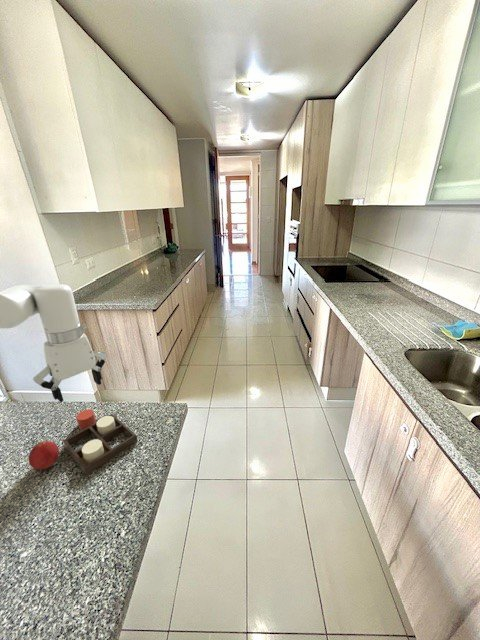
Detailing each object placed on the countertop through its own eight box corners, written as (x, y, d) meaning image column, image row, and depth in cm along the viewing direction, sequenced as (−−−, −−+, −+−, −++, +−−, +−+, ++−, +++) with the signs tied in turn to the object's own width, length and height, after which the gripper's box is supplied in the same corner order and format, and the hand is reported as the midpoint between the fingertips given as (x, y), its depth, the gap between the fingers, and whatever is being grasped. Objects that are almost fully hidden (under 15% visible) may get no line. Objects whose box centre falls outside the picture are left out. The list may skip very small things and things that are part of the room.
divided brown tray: (65, 449, 68) (62, 440, 67) (113, 422, 78) (112, 413, 77) (87, 478, 61) (84, 468, 60) (137, 443, 70) (136, 435, 69)
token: (96, 433, 73) (93, 422, 71) (111, 424, 76) (109, 413, 74) (103, 441, 70) (101, 429, 69) (119, 431, 73) (117, 420, 72)
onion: (28, 480, 60) (18, 454, 57) (39, 459, 65) (30, 435, 62) (57, 474, 62) (48, 448, 59) (65, 454, 67) (58, 430, 64)
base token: (81, 459, 64) (78, 447, 63) (99, 448, 68) (97, 436, 66) (89, 469, 62) (86, 457, 60) (108, 457, 65) (105, 445, 64)
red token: (76, 426, 76) (73, 415, 74) (92, 418, 79) (89, 407, 78) (83, 433, 73) (80, 422, 72) (99, 424, 77) (96, 413, 75)
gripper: (93, 321, 74) (104, 372, 80) (17, 341, 61) (37, 401, 67) (106, 327, 69) (117, 381, 75) (27, 351, 57) (48, 414, 63)
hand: (79, 390), depth 71 cm, fingers open, 9 cm apart
